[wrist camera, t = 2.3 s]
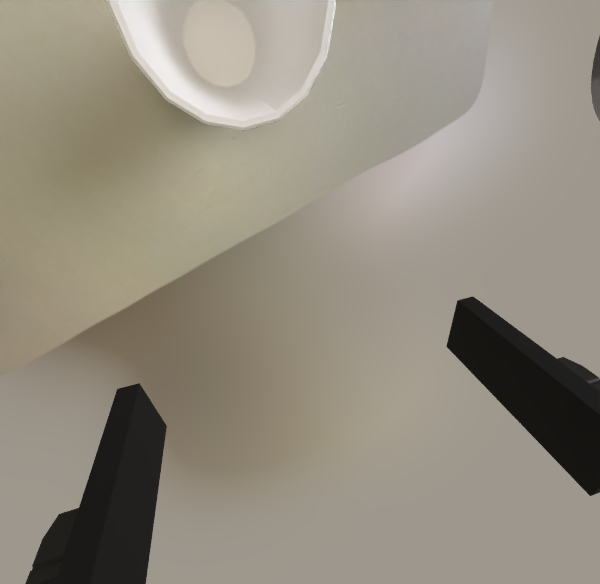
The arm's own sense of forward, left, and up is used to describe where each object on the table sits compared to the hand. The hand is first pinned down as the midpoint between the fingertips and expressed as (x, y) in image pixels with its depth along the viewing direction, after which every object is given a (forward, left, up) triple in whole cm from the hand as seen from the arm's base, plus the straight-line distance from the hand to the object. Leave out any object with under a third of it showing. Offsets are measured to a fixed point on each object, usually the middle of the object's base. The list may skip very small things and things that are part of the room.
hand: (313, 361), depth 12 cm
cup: (0, -13, -23) cm, 26 cm away
